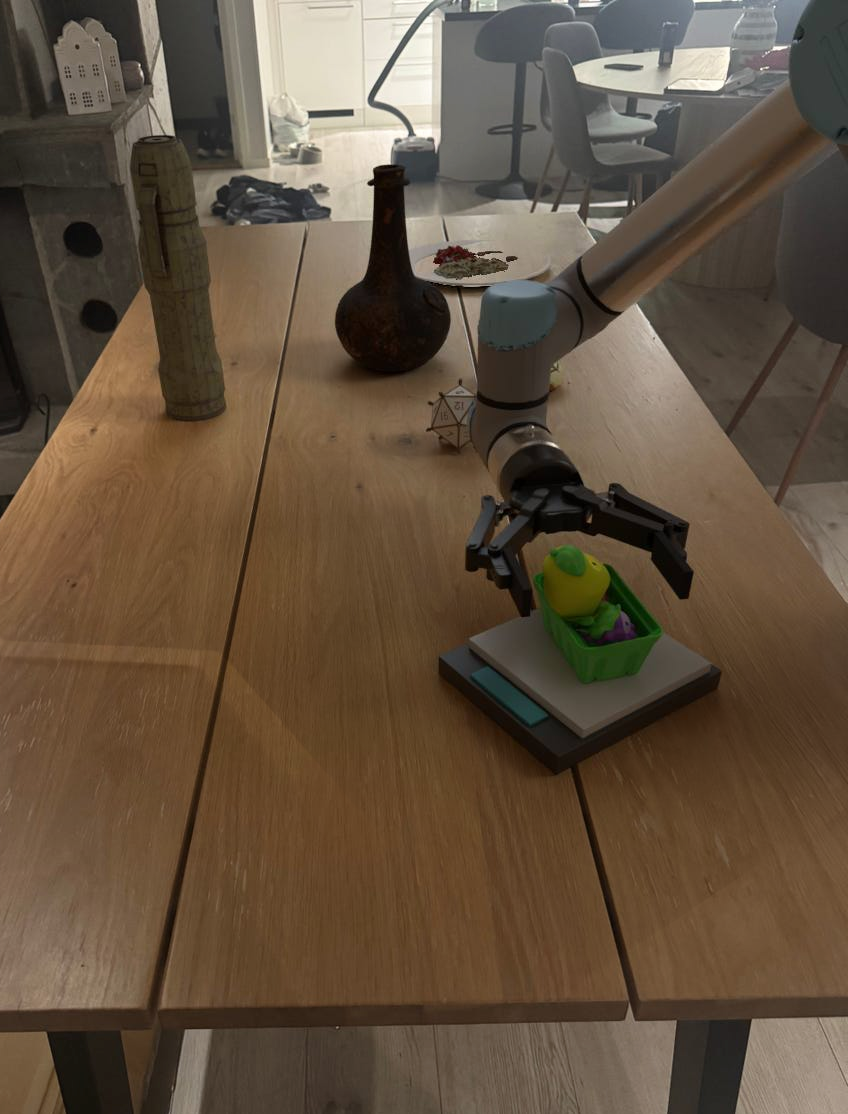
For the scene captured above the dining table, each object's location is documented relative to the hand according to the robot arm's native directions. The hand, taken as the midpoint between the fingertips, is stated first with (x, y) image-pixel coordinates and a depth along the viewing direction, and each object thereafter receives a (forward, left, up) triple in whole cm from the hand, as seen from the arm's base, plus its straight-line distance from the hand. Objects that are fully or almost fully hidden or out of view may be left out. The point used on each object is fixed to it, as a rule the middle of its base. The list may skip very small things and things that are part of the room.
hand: (607, 595), depth 79 cm
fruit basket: (+2, -1, -8) cm, 8 cm away
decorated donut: (+57, -41, -11) cm, 71 cm away
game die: (+47, -21, -11) cm, 53 cm away
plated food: (+108, -71, -11) cm, 130 cm away
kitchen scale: (+2, 0, -11) cm, 11 cm away
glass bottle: (+77, -31, -11) cm, 84 cm away
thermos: (+79, +2, -11) cm, 80 cm away
